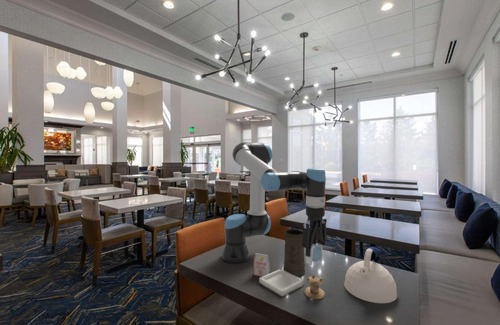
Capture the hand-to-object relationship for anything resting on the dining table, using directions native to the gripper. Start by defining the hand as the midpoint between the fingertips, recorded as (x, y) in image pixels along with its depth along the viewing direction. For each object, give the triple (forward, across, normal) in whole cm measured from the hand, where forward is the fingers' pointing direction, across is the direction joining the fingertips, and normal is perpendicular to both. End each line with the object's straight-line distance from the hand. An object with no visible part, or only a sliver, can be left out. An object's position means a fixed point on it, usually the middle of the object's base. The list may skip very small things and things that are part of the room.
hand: (314, 261), depth 101 cm
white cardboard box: (+14, -6, +25) cm, 30 cm away
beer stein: (+14, +11, +19) cm, 26 cm away
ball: (0, 0, 0) cm, 0 cm away
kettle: (+14, +21, -14) cm, 28 cm away
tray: (+14, -5, +13) cm, 20 cm away
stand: (+13, 0, -1) cm, 13 cm away
